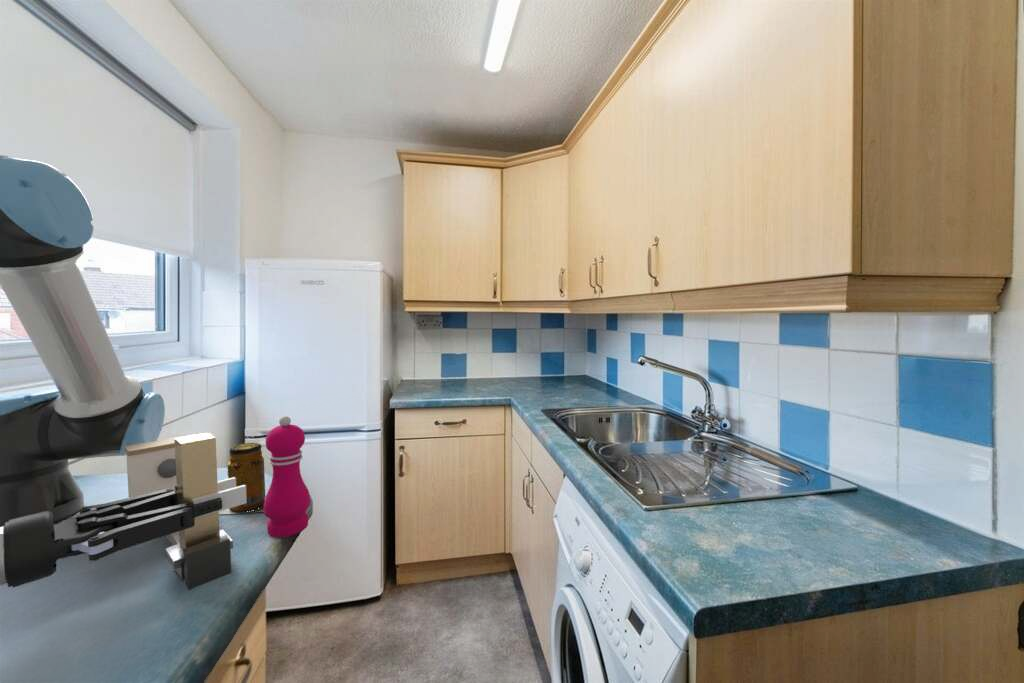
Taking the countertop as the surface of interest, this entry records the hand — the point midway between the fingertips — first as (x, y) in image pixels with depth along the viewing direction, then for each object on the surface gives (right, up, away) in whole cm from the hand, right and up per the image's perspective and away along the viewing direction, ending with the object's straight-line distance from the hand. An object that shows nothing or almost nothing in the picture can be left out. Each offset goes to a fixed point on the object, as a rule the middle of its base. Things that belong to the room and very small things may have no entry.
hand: (240, 489), depth 64 cm
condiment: (-9, -9, +17) cm, 21 cm away
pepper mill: (+3, -10, +8) cm, 13 cm away
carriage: (-3, -10, -4) cm, 11 cm away
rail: (-10, -10, +2) cm, 14 cm away
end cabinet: (-19, -10, +10) cm, 24 cm away
